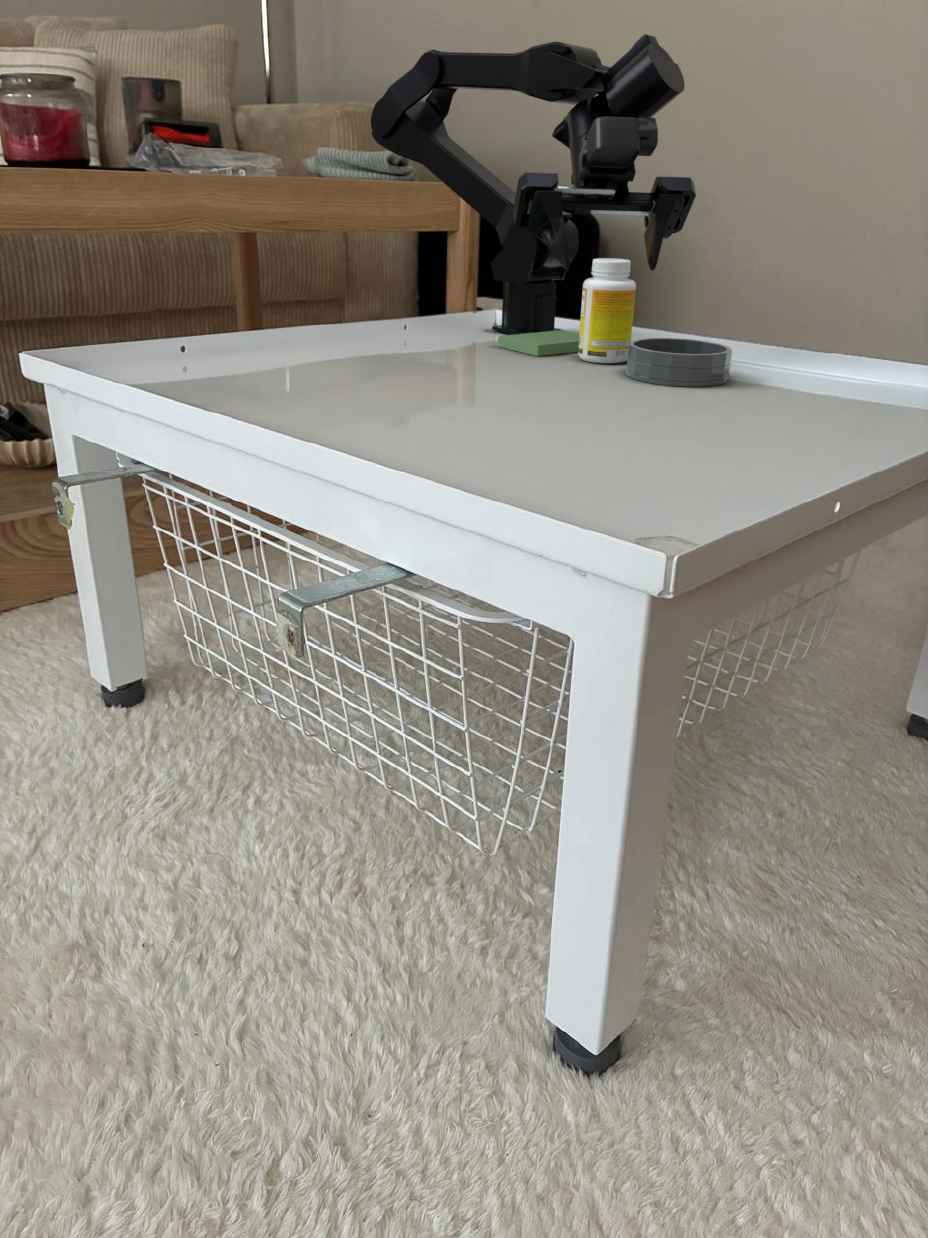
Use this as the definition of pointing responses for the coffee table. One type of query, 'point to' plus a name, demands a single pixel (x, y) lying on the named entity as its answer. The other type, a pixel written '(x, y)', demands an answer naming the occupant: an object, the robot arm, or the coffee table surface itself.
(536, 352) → the green rectangular slab
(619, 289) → the supplement bottle
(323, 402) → the coffee table surface
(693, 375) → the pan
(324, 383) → the coffee table surface
